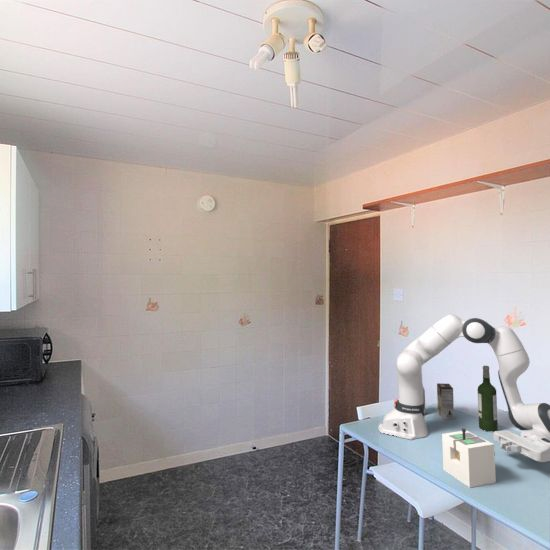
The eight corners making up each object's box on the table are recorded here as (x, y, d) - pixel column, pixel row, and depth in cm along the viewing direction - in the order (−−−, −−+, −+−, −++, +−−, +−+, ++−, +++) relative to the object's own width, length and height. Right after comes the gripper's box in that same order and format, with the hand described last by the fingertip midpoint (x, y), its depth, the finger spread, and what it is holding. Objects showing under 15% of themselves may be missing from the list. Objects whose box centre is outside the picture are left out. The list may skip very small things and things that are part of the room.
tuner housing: (467, 465, 141) (466, 429, 142) (495, 482, 129) (494, 443, 129) (443, 469, 138) (442, 433, 139) (469, 487, 126) (468, 447, 126)
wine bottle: (478, 424, 181) (475, 363, 182) (496, 427, 178) (494, 365, 179) (479, 430, 174) (477, 367, 175) (499, 433, 171) (496, 368, 171)
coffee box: (437, 412, 199) (436, 383, 200) (450, 413, 198) (449, 383, 199) (441, 418, 190) (440, 387, 191) (454, 419, 189) (453, 388, 190)
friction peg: (482, 455, 139) (480, 422, 139) (495, 462, 133) (493, 428, 134) (454, 459, 136) (453, 426, 136) (466, 467, 130) (465, 432, 130)
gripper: (509, 424, 151) (481, 428, 148) (558, 445, 132) (527, 450, 128) (509, 440, 151) (482, 444, 148) (559, 462, 131) (528, 468, 128)
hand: (503, 447), depth 138 cm, fingers closed
